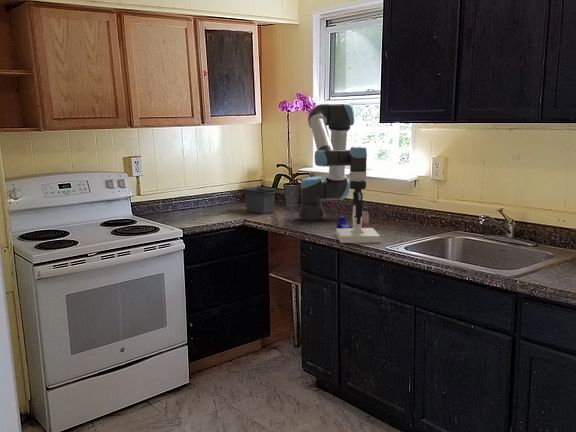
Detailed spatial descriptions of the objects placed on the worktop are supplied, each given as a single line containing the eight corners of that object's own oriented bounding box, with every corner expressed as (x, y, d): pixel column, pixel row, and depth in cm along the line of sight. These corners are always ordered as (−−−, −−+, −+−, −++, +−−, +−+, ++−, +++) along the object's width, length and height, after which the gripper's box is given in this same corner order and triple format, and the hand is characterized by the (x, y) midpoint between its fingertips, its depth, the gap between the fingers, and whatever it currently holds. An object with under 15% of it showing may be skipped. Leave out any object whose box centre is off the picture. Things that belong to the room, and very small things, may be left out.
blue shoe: (336, 228, 284) (336, 217, 283) (342, 227, 287) (342, 216, 286) (354, 232, 275) (354, 220, 274) (360, 231, 278) (360, 219, 277)
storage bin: (240, 211, 339) (239, 187, 336) (260, 208, 349) (259, 185, 346) (261, 215, 323) (261, 191, 320) (282, 212, 333) (281, 188, 330)
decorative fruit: (370, 227, 286) (371, 208, 284) (367, 230, 279) (367, 210, 277) (353, 226, 290) (353, 207, 288) (349, 229, 282) (349, 209, 280)
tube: (360, 238, 258) (360, 206, 256) (351, 237, 260) (351, 206, 257) (362, 236, 262) (363, 205, 260) (354, 235, 264) (354, 204, 261)
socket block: (336, 234, 270) (336, 228, 269) (372, 234, 270) (372, 227, 270) (340, 242, 252) (340, 236, 252) (379, 242, 253) (379, 235, 252)
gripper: (347, 178, 265) (346, 226, 269) (352, 182, 248) (351, 233, 252) (363, 178, 265) (362, 225, 269) (369, 182, 248) (368, 233, 252)
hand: (357, 229), depth 261 cm, fingers closed on tube, 4 cm apart
